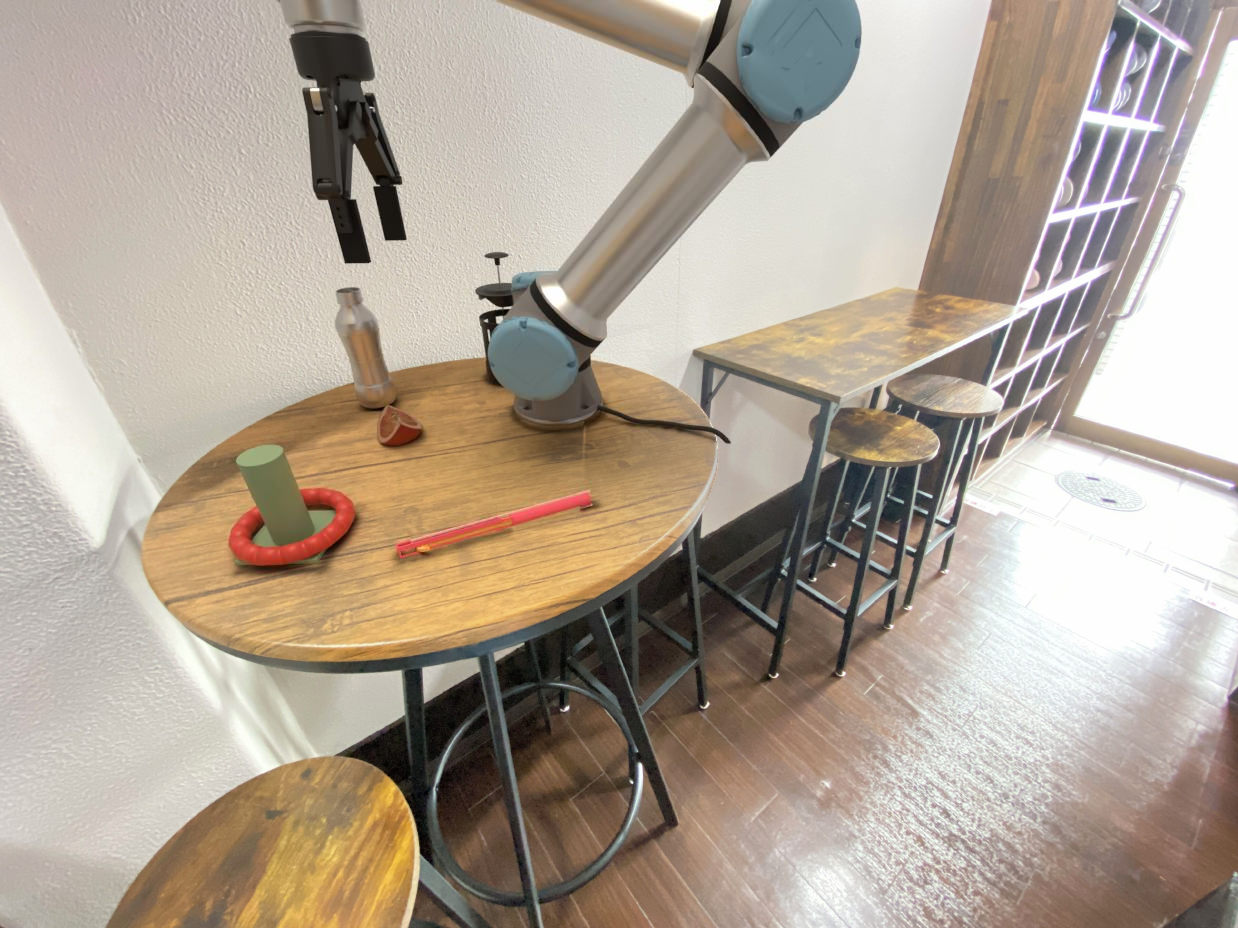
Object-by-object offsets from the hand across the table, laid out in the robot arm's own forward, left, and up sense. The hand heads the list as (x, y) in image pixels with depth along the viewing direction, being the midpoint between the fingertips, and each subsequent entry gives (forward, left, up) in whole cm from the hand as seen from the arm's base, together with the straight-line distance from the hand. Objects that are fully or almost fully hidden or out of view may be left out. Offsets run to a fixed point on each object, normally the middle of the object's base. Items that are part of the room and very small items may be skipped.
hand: (378, 250), depth 67 cm
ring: (+9, +21, -26) cm, 35 cm away
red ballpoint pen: (-15, +20, -29) cm, 38 cm away
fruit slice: (+4, -2, -29) cm, 29 cm away
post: (+9, +22, -29) cm, 37 cm away
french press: (-10, -27, -29) cm, 41 cm away
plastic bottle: (+12, -15, -29) cm, 35 cm away
